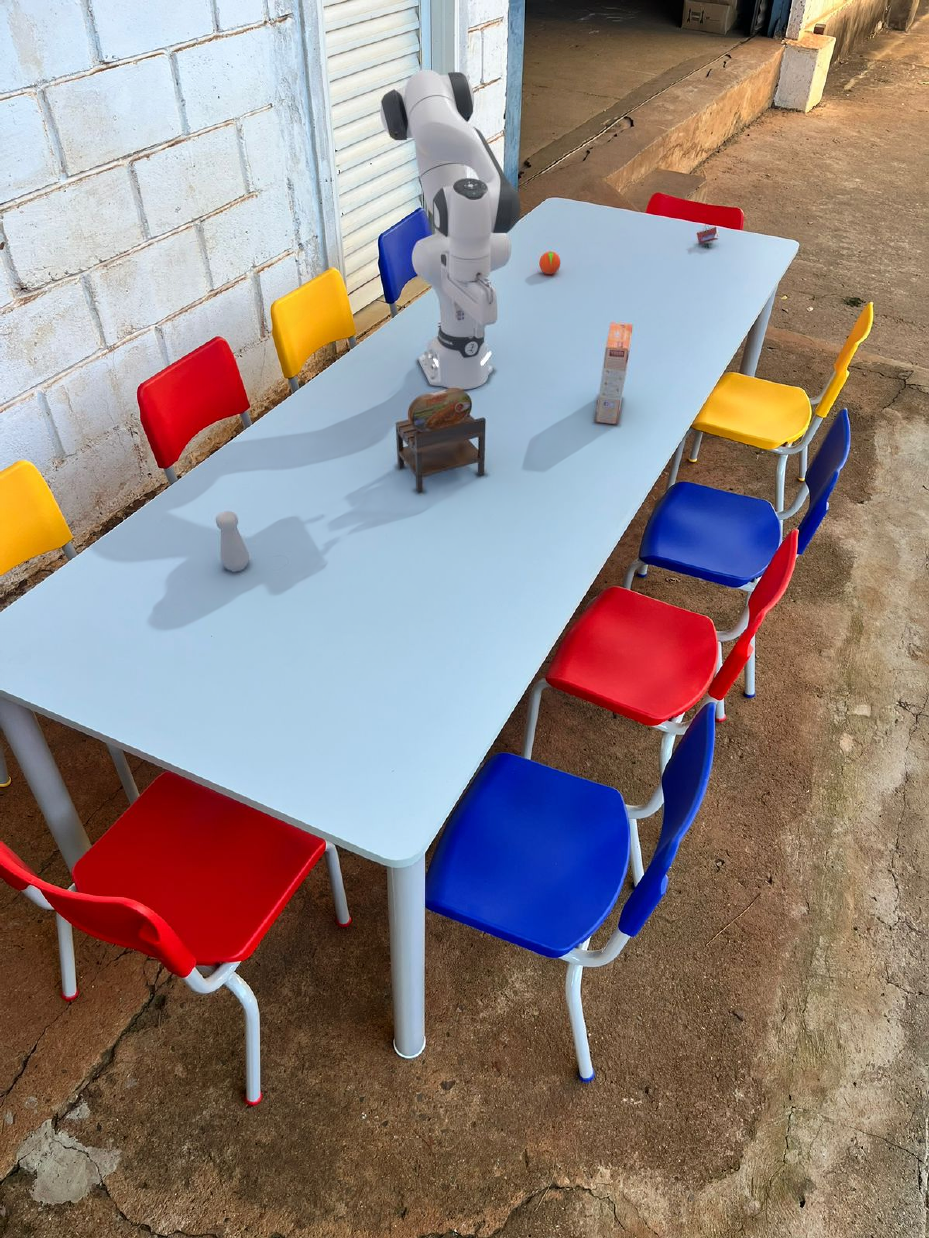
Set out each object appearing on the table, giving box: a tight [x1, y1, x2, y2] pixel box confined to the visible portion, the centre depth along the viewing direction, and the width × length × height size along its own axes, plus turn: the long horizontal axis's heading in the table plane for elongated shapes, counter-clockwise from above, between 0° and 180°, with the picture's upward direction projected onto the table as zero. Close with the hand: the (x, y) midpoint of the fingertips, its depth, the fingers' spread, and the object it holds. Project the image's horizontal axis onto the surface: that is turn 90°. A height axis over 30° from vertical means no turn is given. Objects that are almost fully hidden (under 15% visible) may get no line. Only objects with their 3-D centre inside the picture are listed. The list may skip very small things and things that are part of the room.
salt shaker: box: [215, 510, 250, 573], centre depth 181 cm, size 6×6×13 cm
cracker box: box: [595, 321, 633, 426], centre depth 225 cm, size 14×6×21 cm, turn 168°
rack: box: [395, 413, 487, 494], centre depth 206 cm, size 12×17×15 cm
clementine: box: [538, 251, 561, 275], centre depth 291 cm, size 8×7×7 cm
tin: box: [407, 388, 473, 433], centre depth 200 cm, size 15×3×8 cm, turn 116°
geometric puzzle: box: [696, 223, 720, 248], centre depth 310 cm, size 7×7×8 cm
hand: (468, 327), depth 197 cm, fingers open, 8 cm apart
